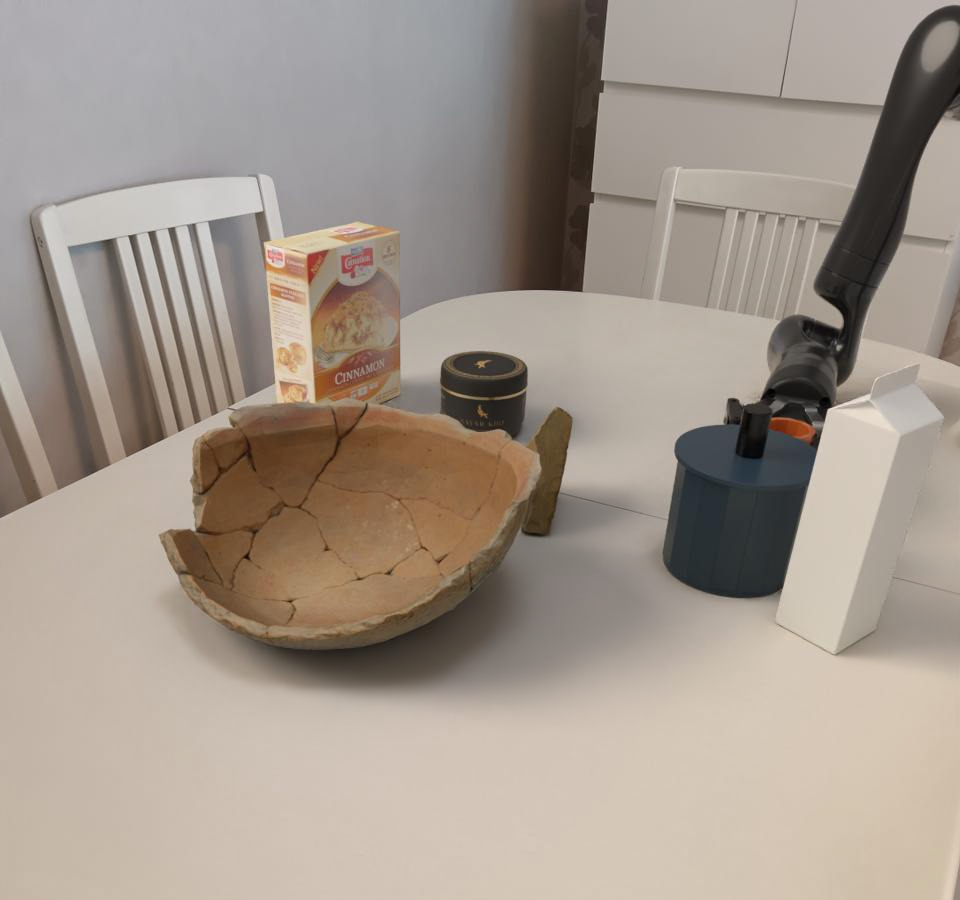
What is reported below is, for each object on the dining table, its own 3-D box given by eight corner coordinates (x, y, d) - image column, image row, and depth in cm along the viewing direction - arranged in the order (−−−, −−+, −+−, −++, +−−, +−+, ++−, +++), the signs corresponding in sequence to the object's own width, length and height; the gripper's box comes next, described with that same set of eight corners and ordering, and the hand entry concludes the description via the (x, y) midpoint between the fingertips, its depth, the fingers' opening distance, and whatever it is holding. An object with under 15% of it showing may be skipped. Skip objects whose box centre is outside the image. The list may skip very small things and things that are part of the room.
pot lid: (751, 426, 91) (762, 373, 88) (853, 480, 82) (870, 423, 79) (643, 450, 85) (651, 394, 82) (740, 510, 76) (753, 450, 73)
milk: (773, 623, 81) (835, 366, 69) (815, 599, 85) (881, 350, 72) (836, 656, 78) (913, 391, 65) (877, 630, 81) (959, 373, 68)
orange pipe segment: (772, 487, 100) (788, 414, 96) (806, 507, 97) (826, 432, 92) (735, 496, 98) (750, 422, 94) (769, 518, 95) (787, 441, 90)
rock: (573, 527, 89) (610, 473, 96) (522, 450, 86) (564, 400, 93) (489, 560, 96) (530, 508, 103) (440, 490, 94) (485, 441, 100)
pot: (731, 523, 96) (752, 423, 90) (817, 579, 87) (847, 472, 81) (637, 549, 91) (652, 444, 85) (719, 610, 83) (742, 499, 77)
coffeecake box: (318, 430, 111) (307, 252, 100) (275, 414, 114) (259, 240, 103) (404, 395, 121) (402, 229, 110) (361, 381, 124) (356, 219, 113)
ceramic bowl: (106, 649, 72) (89, 451, 65) (236, 535, 96) (233, 383, 90) (506, 706, 69) (529, 505, 63) (535, 574, 94) (553, 420, 88)
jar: (439, 444, 109) (439, 378, 104) (439, 411, 117) (440, 348, 113) (527, 446, 109) (532, 380, 105) (521, 412, 117) (525, 350, 113)
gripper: (738, 353, 105) (712, 407, 92) (877, 374, 101) (870, 433, 88) (726, 418, 109) (699, 479, 96) (858, 441, 105) (848, 507, 92)
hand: (780, 457), depth 92 cm, fingers closed on orange pipe segment, 5 cm apart
